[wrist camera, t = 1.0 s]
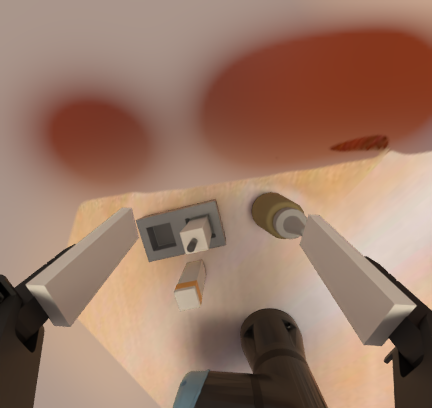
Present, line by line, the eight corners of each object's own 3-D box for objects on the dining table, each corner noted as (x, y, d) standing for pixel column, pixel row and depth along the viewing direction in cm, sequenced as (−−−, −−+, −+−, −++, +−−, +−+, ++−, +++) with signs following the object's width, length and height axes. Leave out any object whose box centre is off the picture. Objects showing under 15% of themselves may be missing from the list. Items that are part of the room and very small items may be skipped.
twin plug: (212, 230, 39) (206, 258, 25) (196, 234, 39) (181, 263, 25) (208, 214, 38) (200, 233, 24) (191, 218, 38) (174, 239, 24)
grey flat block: (225, 238, 40) (225, 244, 36) (156, 254, 41) (149, 262, 37) (215, 199, 38) (214, 201, 35) (144, 216, 40) (135, 220, 36)
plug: (206, 274, 41) (200, 307, 30) (190, 277, 42) (179, 311, 31) (202, 259, 41) (194, 287, 30) (186, 262, 41) (173, 292, 30)
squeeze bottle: (257, 230, 39) (286, 271, 21) (243, 200, 38) (261, 216, 20) (289, 216, 38) (346, 246, 21) (275, 185, 38) (323, 188, 20)
